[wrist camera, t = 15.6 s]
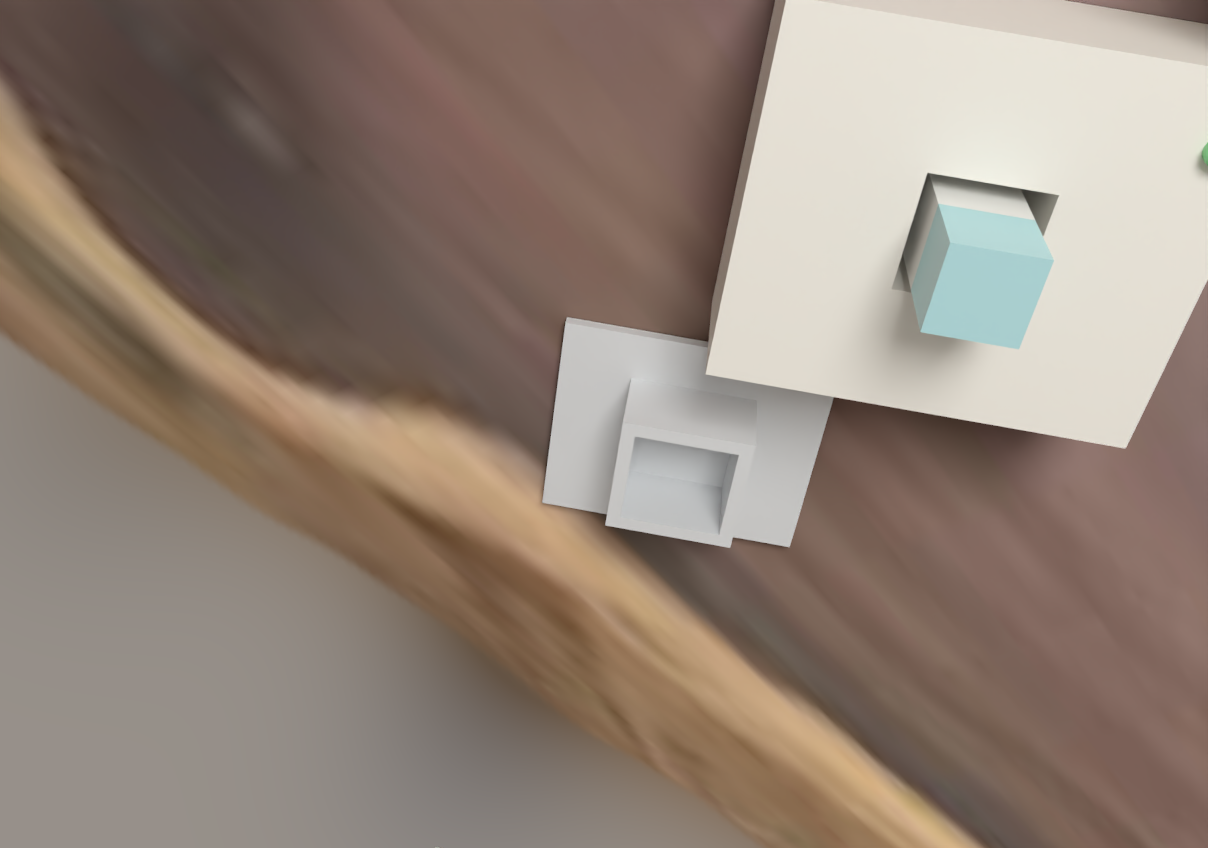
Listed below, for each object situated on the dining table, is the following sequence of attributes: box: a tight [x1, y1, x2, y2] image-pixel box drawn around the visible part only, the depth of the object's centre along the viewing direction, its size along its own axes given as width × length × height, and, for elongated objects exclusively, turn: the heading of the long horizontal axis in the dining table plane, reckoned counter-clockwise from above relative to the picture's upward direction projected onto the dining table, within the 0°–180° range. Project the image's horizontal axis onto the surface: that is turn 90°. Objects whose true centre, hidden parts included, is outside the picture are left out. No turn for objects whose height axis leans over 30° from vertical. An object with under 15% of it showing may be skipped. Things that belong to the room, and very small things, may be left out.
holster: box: [542, 317, 834, 548], centre depth 51 cm, size 12×10×4 cm
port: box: [705, 0, 1208, 448], centre depth 42 cm, size 16×14×6 cm
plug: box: [903, 173, 1054, 349], centre depth 40 cm, size 3×3×9 cm
